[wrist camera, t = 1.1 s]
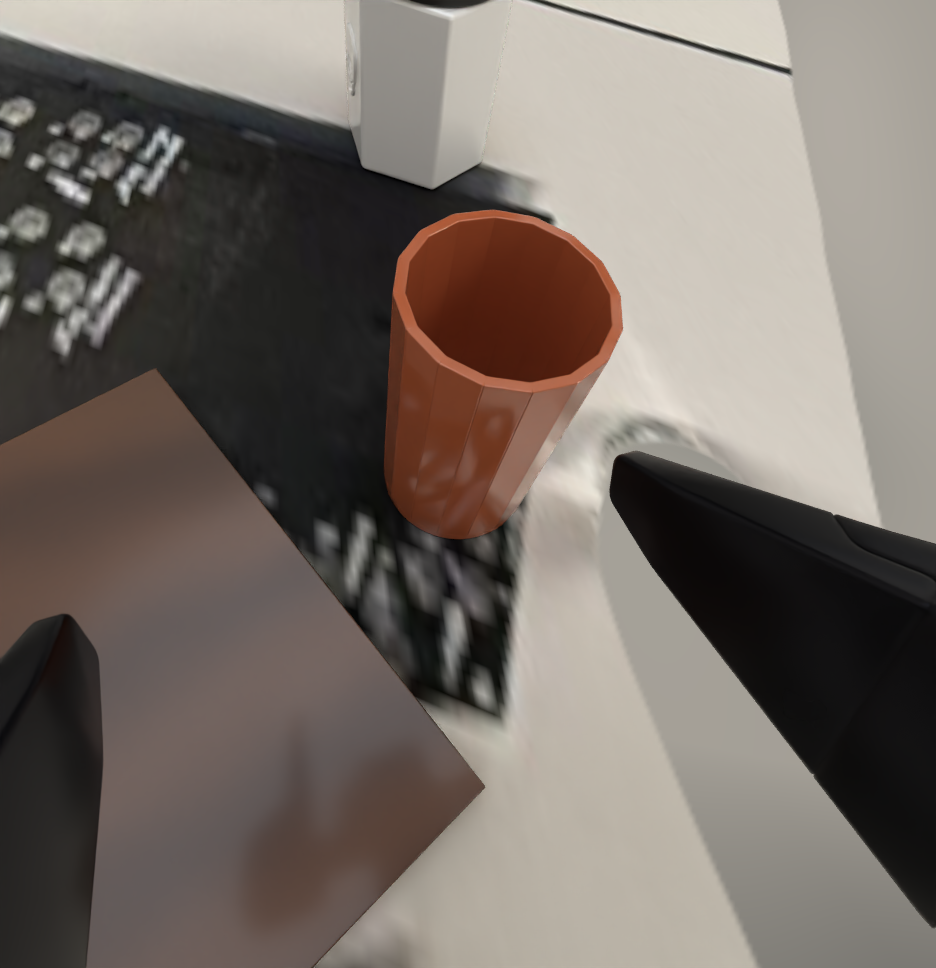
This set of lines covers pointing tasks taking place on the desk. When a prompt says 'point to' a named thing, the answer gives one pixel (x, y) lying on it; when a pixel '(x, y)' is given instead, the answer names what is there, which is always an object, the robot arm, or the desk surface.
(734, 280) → the desk surface
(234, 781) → the board
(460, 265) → the pen cup
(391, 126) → the jar
